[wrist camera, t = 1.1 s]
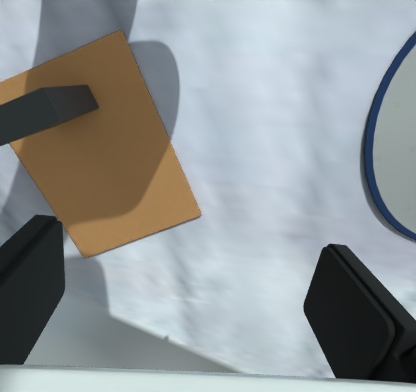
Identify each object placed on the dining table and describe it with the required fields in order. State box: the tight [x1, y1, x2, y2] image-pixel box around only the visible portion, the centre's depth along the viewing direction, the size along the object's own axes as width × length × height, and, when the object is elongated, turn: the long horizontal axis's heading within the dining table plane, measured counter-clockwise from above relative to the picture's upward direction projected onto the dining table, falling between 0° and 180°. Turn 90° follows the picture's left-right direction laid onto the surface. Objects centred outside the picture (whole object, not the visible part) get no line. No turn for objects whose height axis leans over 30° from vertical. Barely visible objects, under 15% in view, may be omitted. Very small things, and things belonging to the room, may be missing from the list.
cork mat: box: [0, 30, 201, 258], centre depth 37 cm, size 24×18×1 cm
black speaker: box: [0, 85, 99, 146], centre depth 29 cm, size 3×6×11 cm, turn 111°
